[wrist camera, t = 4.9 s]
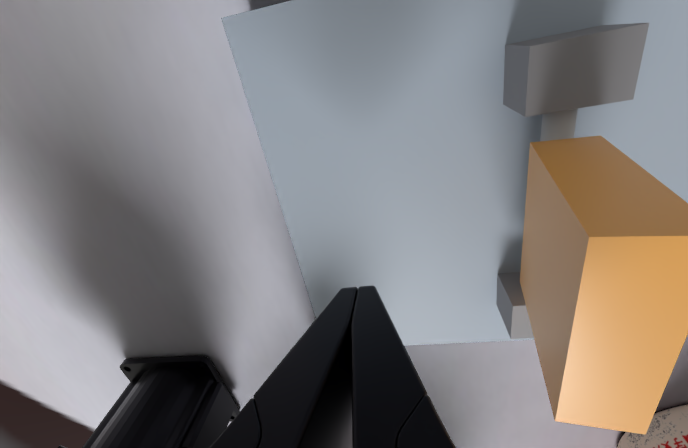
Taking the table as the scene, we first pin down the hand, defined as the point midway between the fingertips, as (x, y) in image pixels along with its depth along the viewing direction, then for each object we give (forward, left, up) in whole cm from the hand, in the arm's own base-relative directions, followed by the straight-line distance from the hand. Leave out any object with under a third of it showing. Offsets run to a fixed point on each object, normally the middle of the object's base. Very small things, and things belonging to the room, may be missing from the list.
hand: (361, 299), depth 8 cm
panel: (+6, 0, -7) cm, 9 cm away
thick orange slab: (+6, 0, -4) cm, 7 cm away
